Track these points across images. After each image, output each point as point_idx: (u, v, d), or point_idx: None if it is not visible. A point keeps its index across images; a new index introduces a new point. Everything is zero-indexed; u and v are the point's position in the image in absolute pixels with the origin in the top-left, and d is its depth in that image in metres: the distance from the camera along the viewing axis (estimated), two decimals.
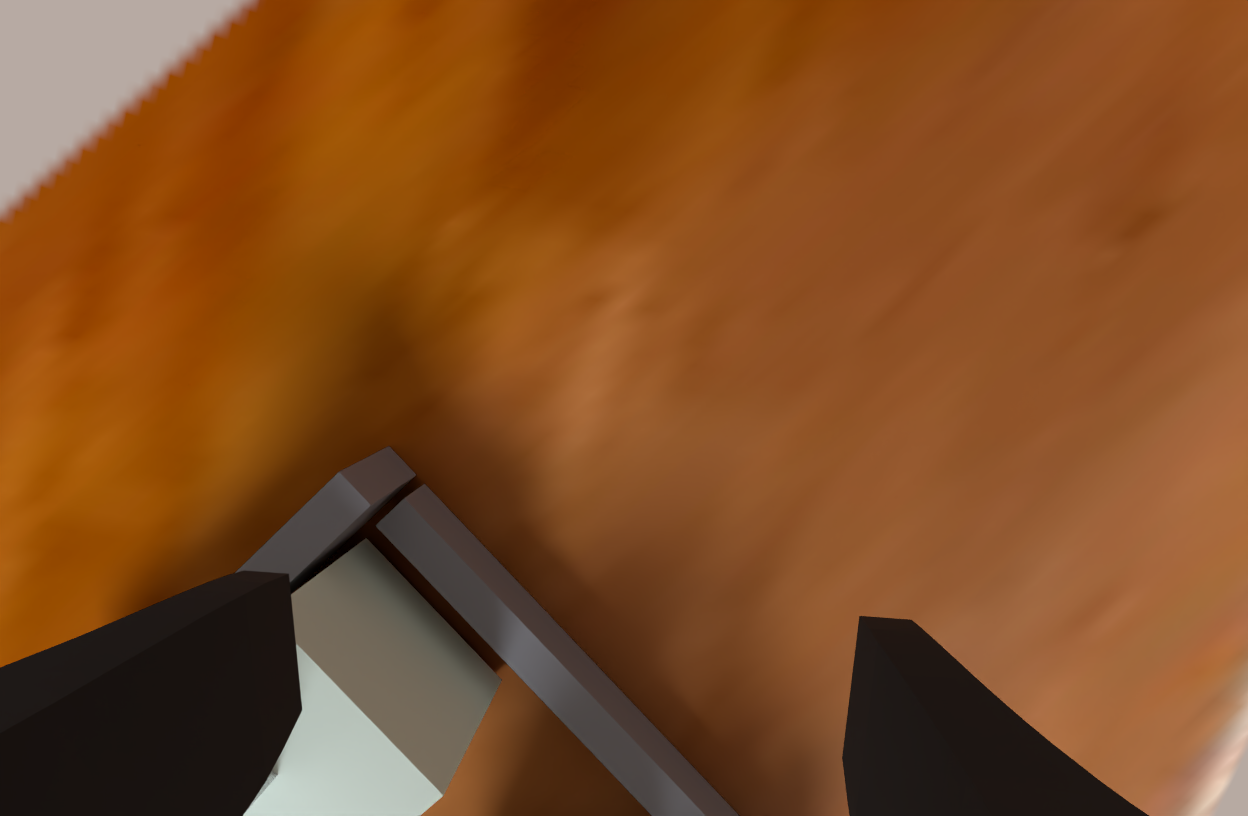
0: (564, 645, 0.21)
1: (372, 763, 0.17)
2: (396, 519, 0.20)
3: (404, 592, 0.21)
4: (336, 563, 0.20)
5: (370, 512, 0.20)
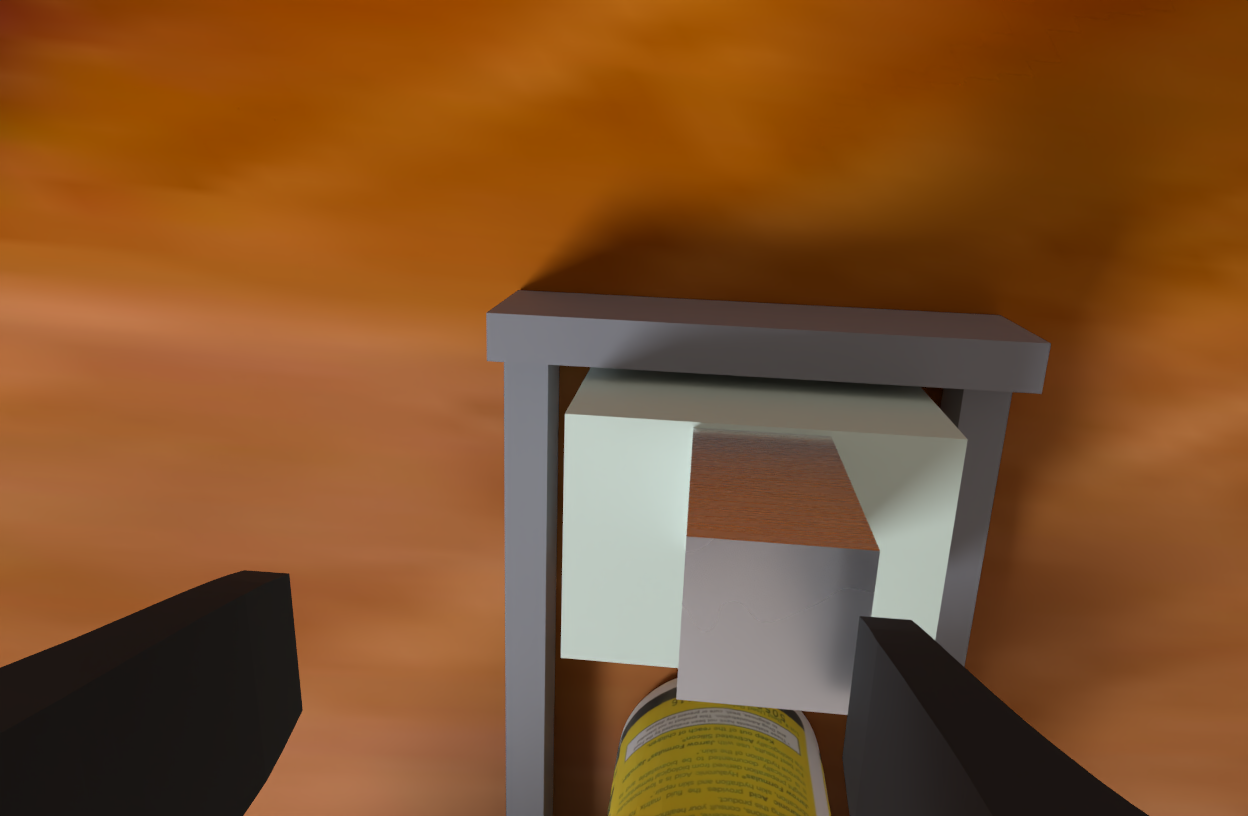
0: None
1: None
2: (986, 397, 0.18)
3: None
4: None
5: None
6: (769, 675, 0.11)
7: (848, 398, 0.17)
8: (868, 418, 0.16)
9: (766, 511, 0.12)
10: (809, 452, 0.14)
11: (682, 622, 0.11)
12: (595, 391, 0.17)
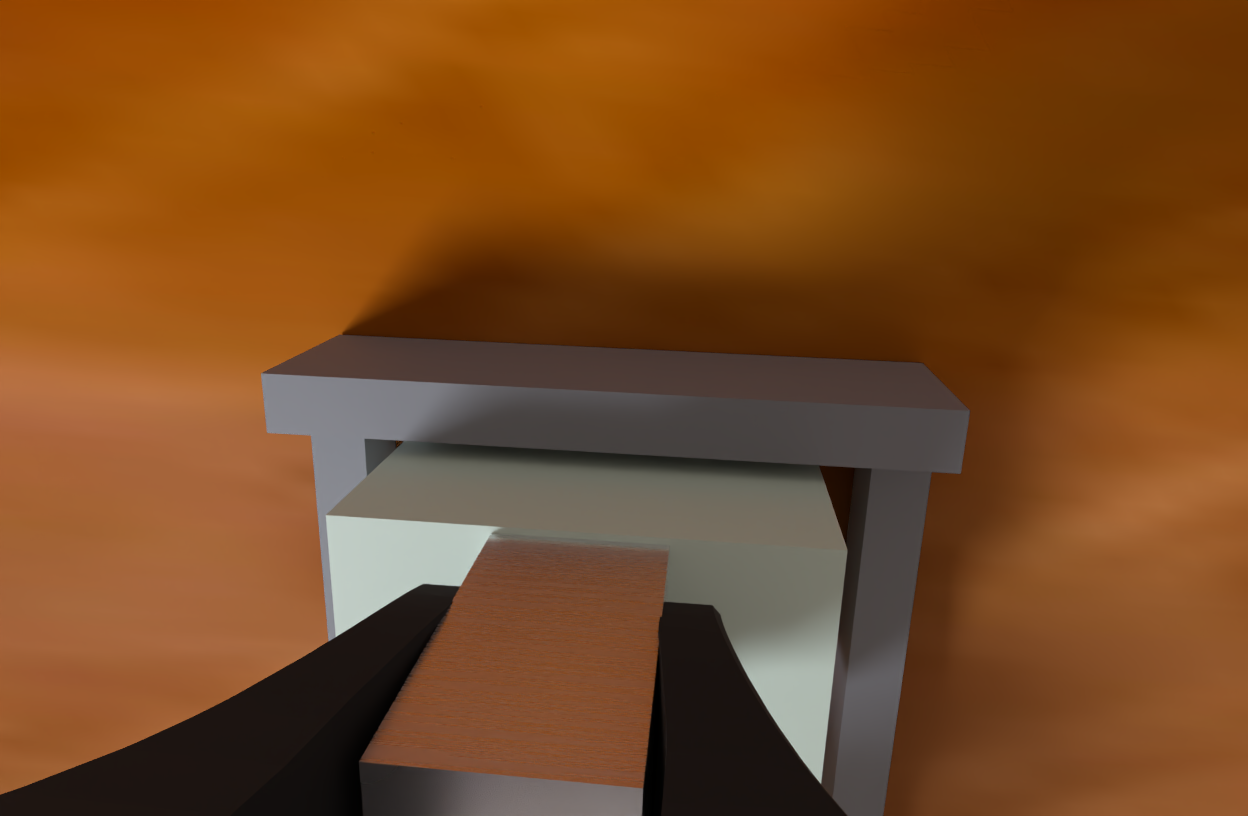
0: None
1: None
2: (901, 469, 0.15)
3: None
4: (818, 468, 0.14)
5: None
6: None
7: (716, 480, 0.13)
8: (727, 515, 0.12)
9: (509, 700, 0.08)
10: (626, 576, 0.10)
11: None
12: (391, 475, 0.13)
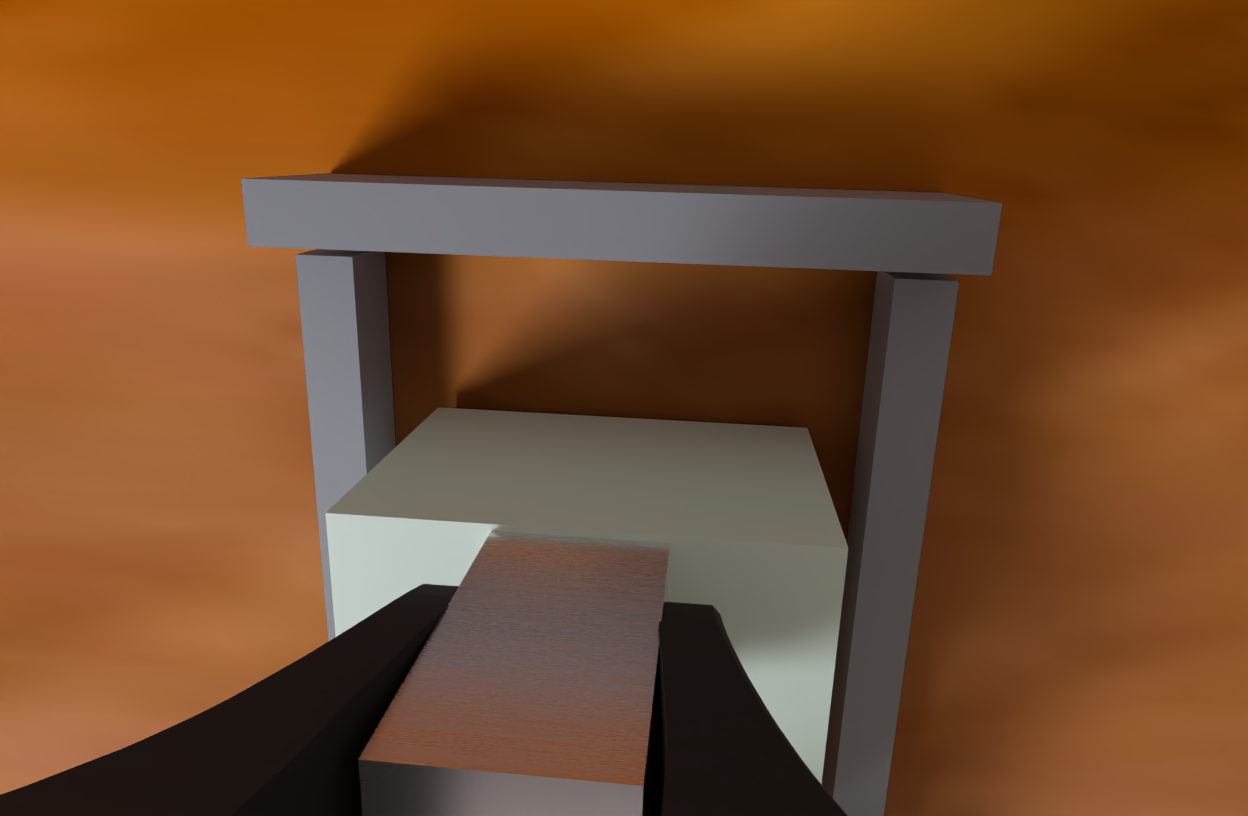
0: None
1: None
2: (924, 294, 0.14)
3: None
4: None
5: None
6: None
7: (716, 478, 0.13)
8: (727, 514, 0.12)
9: (508, 699, 0.08)
10: (627, 574, 0.10)
11: None
12: (392, 473, 0.13)
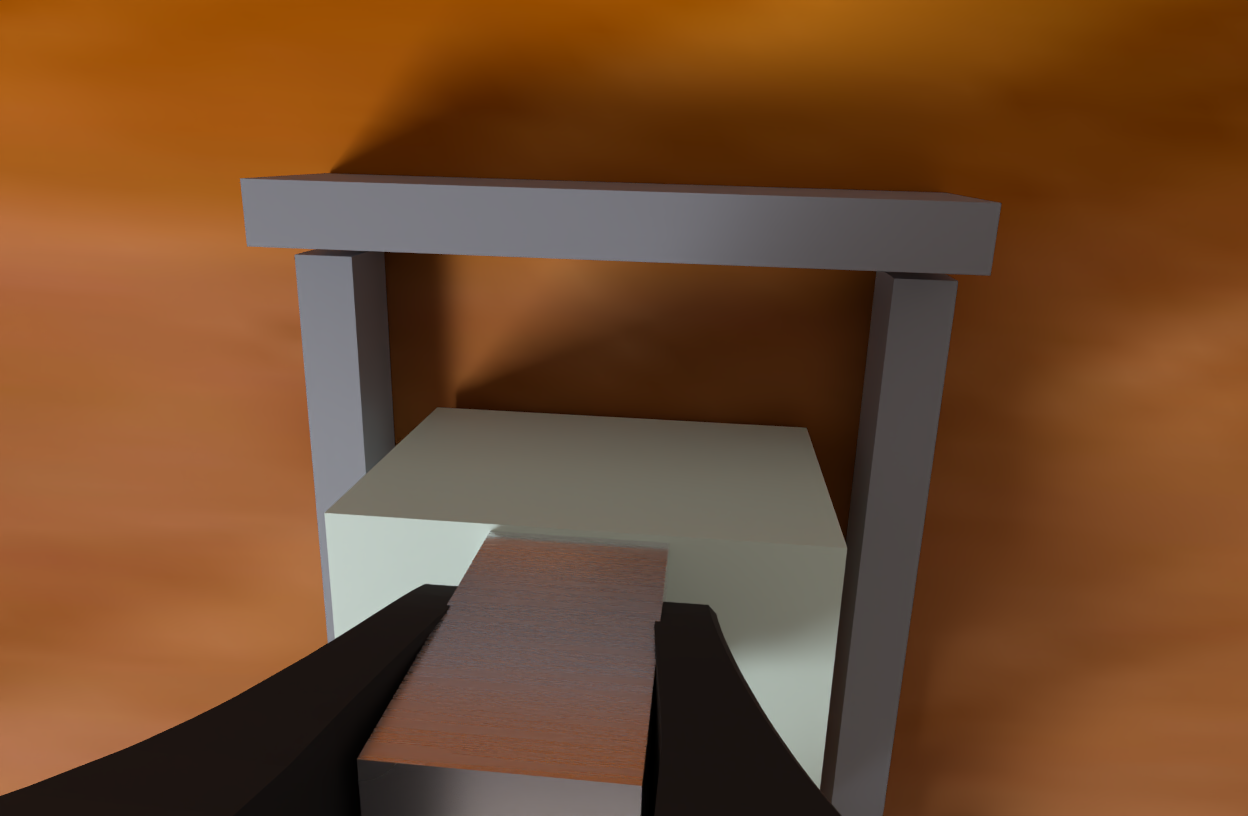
0: None
1: None
2: (924, 294, 0.14)
3: None
4: None
5: None
6: None
7: (715, 478, 0.13)
8: (726, 513, 0.12)
9: (507, 697, 0.08)
10: (625, 574, 0.10)
11: None
12: (390, 473, 0.13)
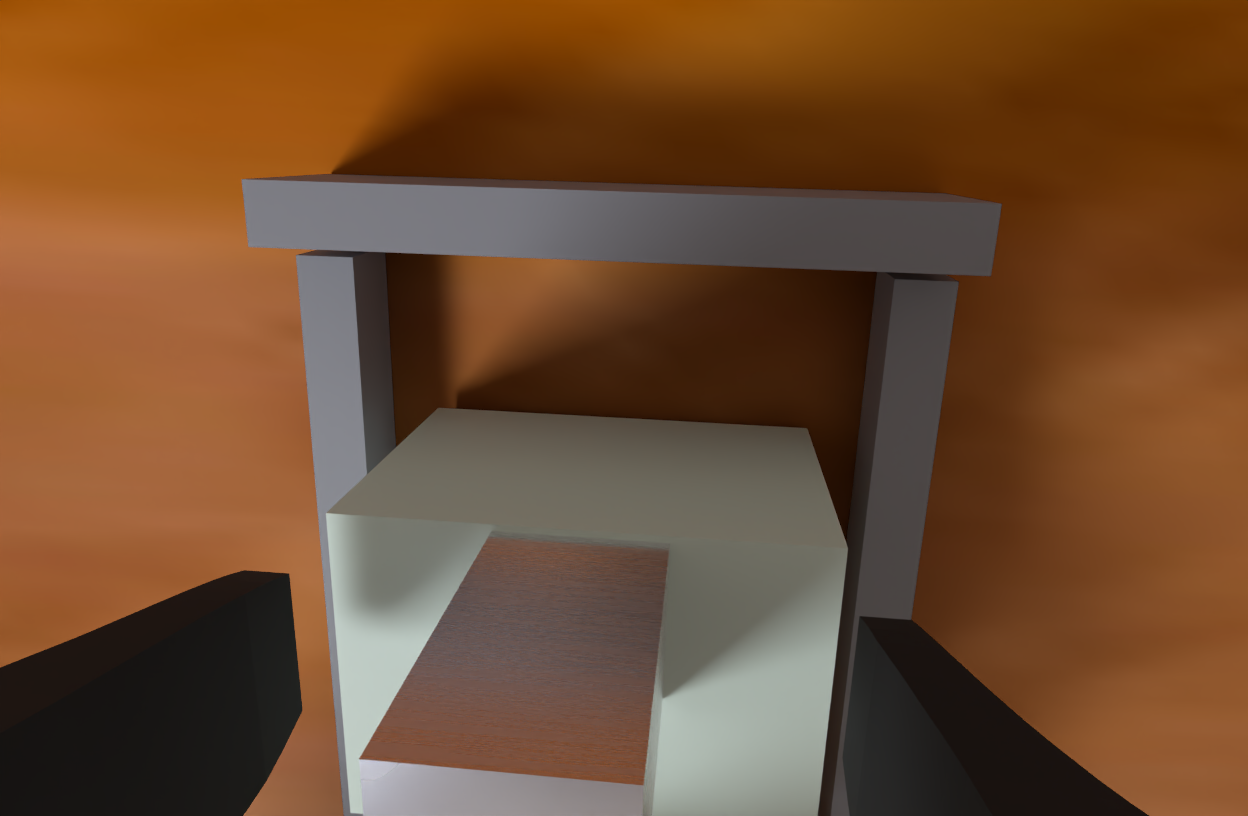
0: None
1: (777, 775, 0.12)
2: (924, 295, 0.14)
3: None
4: None
5: None
6: None
7: (716, 478, 0.13)
8: (727, 514, 0.12)
9: (509, 698, 0.08)
10: (627, 574, 0.10)
11: None
12: (392, 473, 0.13)
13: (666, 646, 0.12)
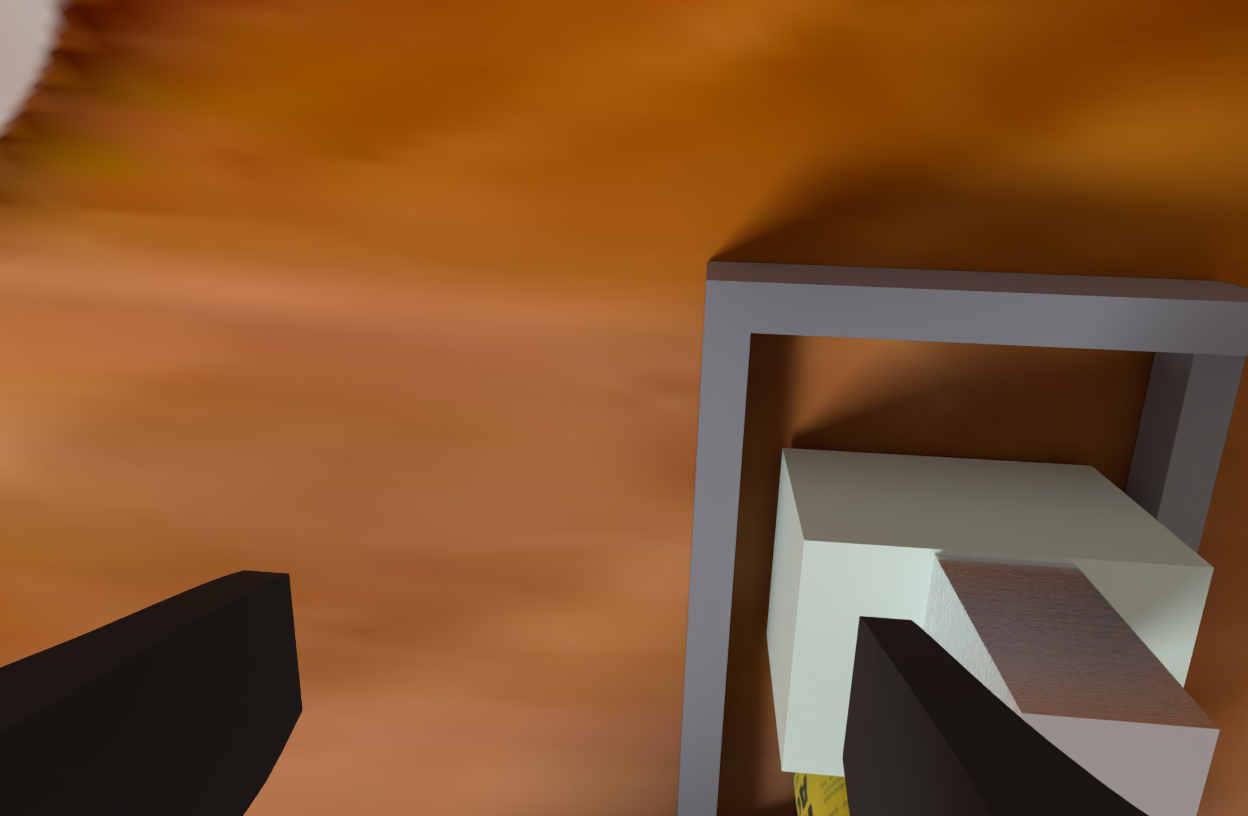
0: None
1: None
2: (1217, 365, 0.17)
3: None
4: (1129, 500, 0.18)
5: None
6: None
7: (1063, 510, 0.17)
8: (1100, 540, 0.16)
9: (1076, 675, 0.12)
10: (1067, 588, 0.14)
11: None
12: (814, 506, 0.17)
13: None
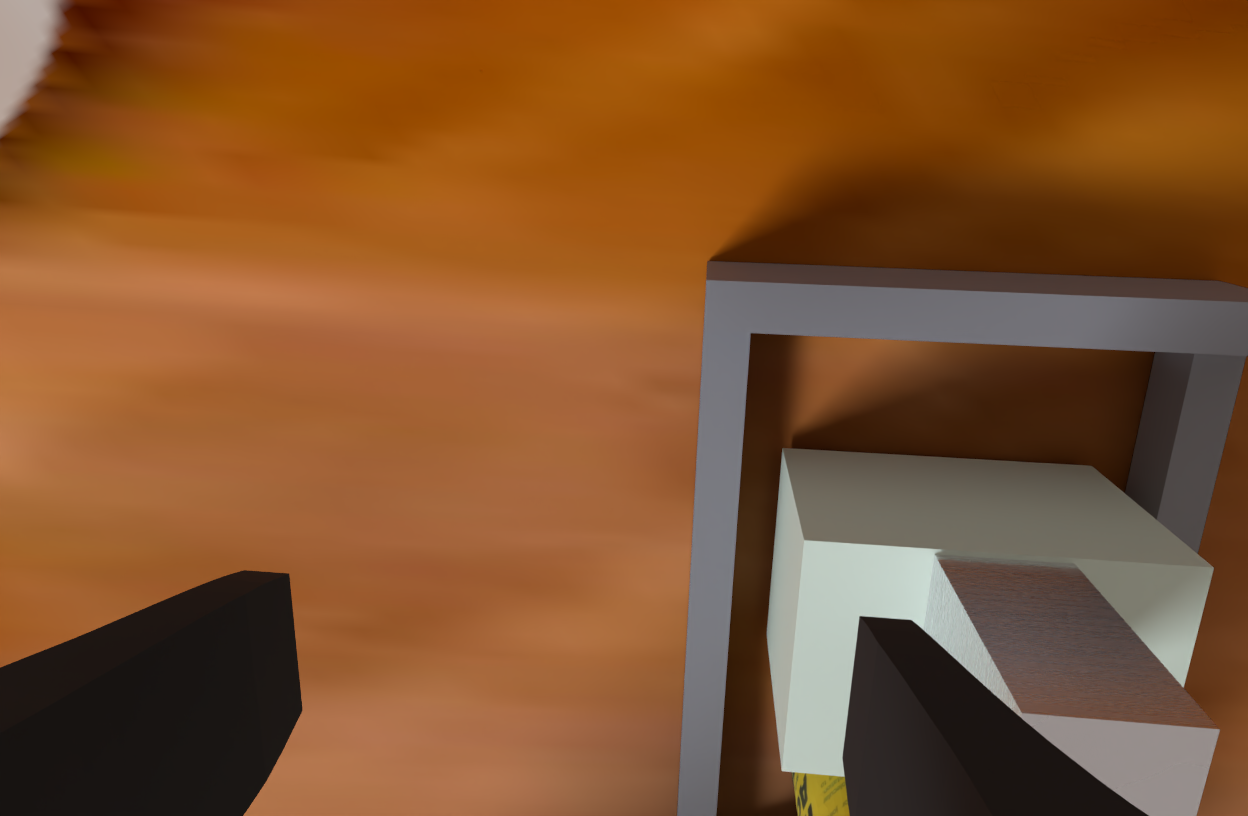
0: None
1: None
2: (1217, 365, 0.17)
3: None
4: (1129, 500, 0.18)
5: None
6: None
7: (1063, 510, 0.17)
8: (1100, 540, 0.16)
9: (1076, 675, 0.12)
10: (1067, 588, 0.14)
11: None
12: (814, 506, 0.17)
13: None
